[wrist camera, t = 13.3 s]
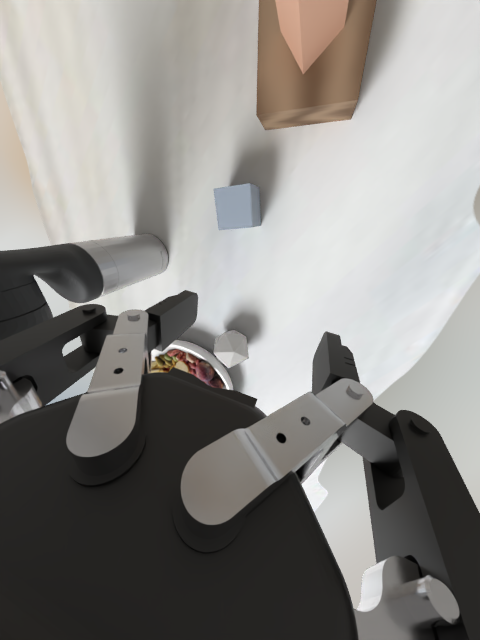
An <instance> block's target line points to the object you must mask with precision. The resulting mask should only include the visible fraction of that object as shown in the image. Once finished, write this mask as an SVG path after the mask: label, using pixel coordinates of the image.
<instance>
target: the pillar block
mask: <svg viewBox="0 0 480 640" xmlns="http://www.w3.org/2000/svg"><path fill="white" fill-rule="evenodd" d="M275 2H276V8H277V13H278V19H279V25H280V31H281V33H282V35H283V37H284V39H285V41H286V43H287V44H288V46H289V48H290V50H291V52H292V54H293V56H294V58H295V60H296V62H297V63H298V65H299V67H300V69H301V71H302V73H303V74H304V73H305V72H306V71H307V70H308V68H309V67H310V66H311V65H312V64H313V63H314V62H315V60H316V59H317V58H318V57H319V56H320V55H321V53H322V52H323V51H324V50H325V49H326V48H327V46H328V45H329V44H330V43H331V42H332V41H333V40H334V38H335V37H336V36H337V35H338V34H339V33H340V31H341V30H342V29H343V28H344V26H345V20H346V14H347V8H348V2H349V0H275Z"/></svg>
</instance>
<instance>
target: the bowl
mask: <svg viewBox="0 0 480 640" xmlns="http://www.w3.org/2000/svg"><path fill="white" fill-rule="evenodd" d="M151 352H152V363H151V373H154V372H166V373H168V372H169V371H170V370H171V369H172V368H173V367H175V368H177V369H180V370H183V371H185V372H188V373H190V374H193V375H194V376H196V377H197V378H199V379H200V380H202V381H203V382H204V383H206V384H207V385H209V386H211V387H215V388H222V389H228V390H233V385H232V381H231V379H230V376H229V374H228V372H227V371H226V369H225V368H224V366H223V365H222V364H221V363H220V362H219V360H218V359H217V358H216V357H214V356H213V355H212V354H211V353H209V352H208V351H207V350H205V349H203V348H202V347H200V346H198V345H195V344H193V343H190V342H187V341H181V340H175V341H174V342H173V343H171V344H170V345H169V346H168V347H167V348H166V349H165V350H164V351H163V352H161V351H158V350H155V349H153V350H152V351H151Z"/></svg>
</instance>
